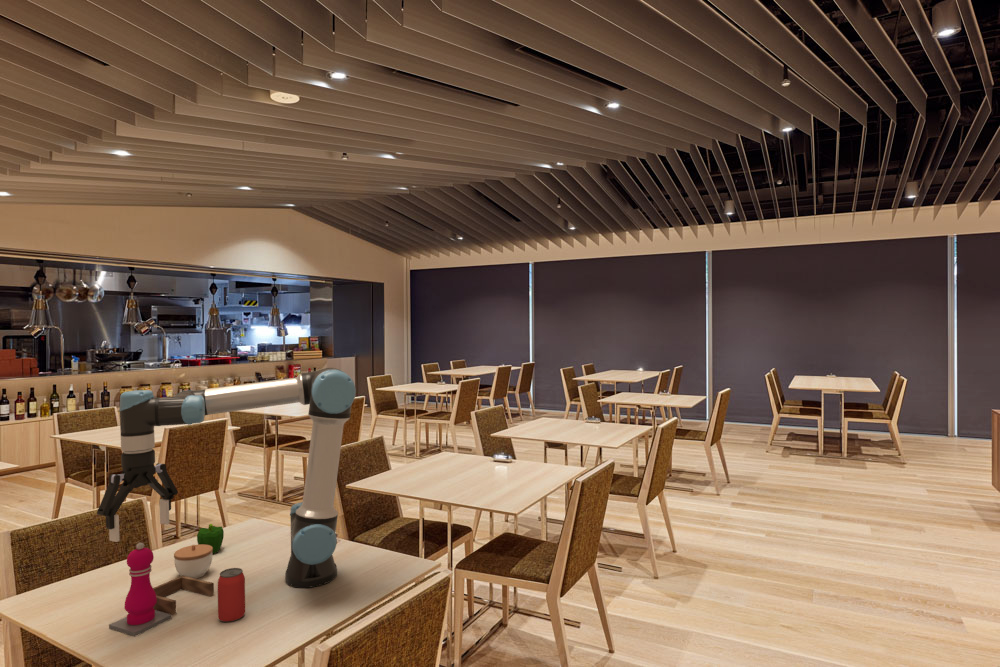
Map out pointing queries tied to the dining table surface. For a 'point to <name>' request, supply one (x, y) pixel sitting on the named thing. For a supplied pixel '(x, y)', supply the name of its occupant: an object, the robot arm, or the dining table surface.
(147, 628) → the coaster
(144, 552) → the pepper mill
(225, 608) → the beer can
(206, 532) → the bell pepper
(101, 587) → the dining table surface
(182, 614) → the dining table surface
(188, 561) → the lidded jar
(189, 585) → the u-shaped frame
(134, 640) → the dining table surface
